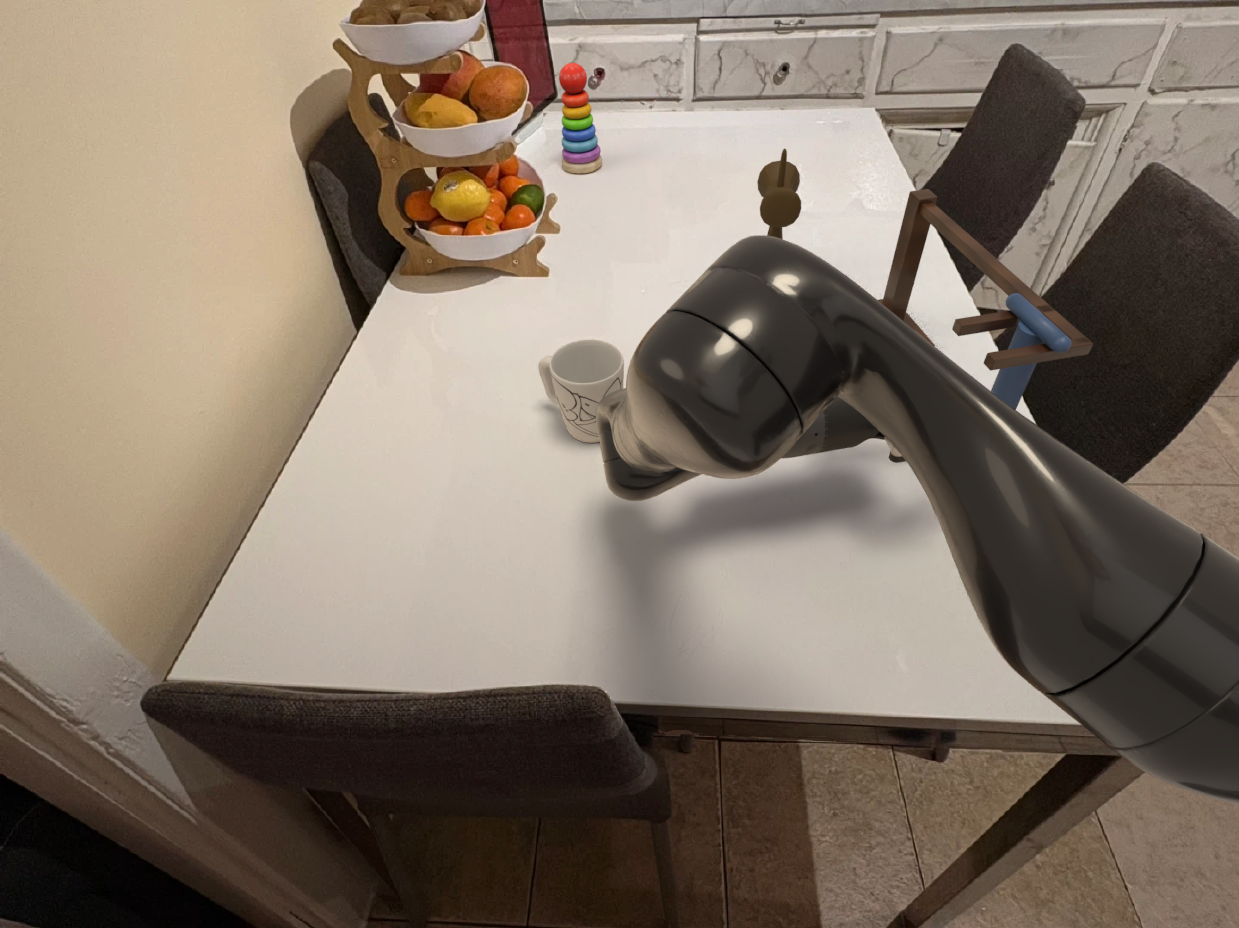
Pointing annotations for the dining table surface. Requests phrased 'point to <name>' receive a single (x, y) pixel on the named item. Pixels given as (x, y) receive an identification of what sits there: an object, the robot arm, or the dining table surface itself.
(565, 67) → the stacking toy
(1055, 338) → the peg
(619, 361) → the mug
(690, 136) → the dining table surface
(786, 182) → the kendama
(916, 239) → the stand
